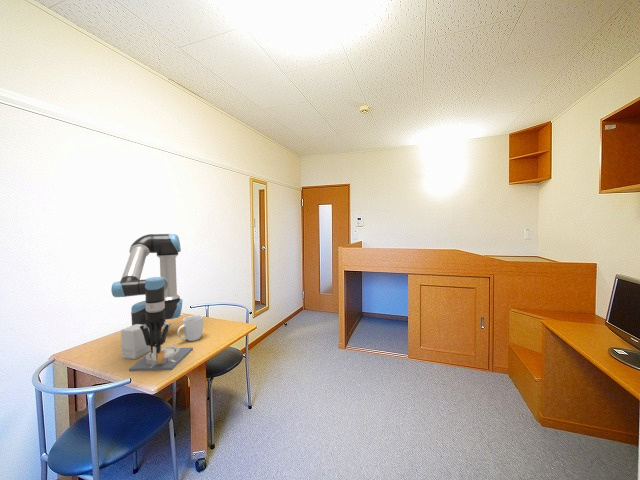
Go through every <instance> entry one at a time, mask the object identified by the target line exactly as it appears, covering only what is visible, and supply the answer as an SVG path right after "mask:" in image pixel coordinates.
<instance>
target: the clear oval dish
mask: <svg viewBox="0 0 640 480" xmlns="http://www.w3.org/2000/svg"><path fill="white" fill-rule="evenodd" d="M174 352H175V350H174V349H173V348H162V347H161V351H160V352H159V353H157V362H158V363H161V362H163V361H164V357H167V356H169V355H171V354H173V353H174ZM151 357H152V358H153V354H152V355H151Z"/></svg>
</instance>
